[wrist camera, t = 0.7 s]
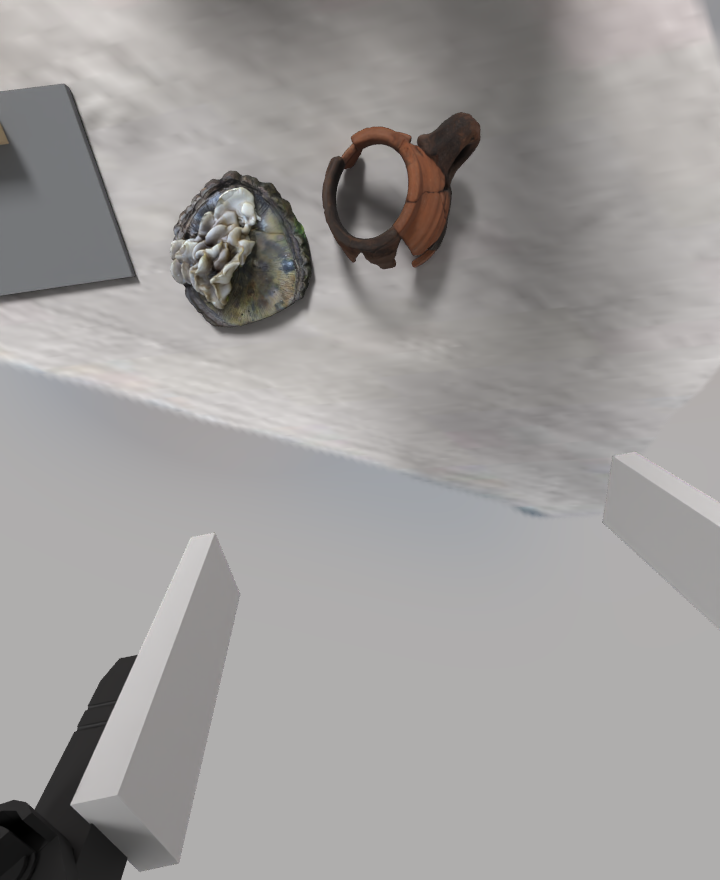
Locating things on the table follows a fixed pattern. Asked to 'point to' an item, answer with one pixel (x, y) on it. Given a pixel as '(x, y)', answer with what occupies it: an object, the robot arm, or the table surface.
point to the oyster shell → (240, 251)
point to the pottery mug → (426, 188)
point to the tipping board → (52, 197)
